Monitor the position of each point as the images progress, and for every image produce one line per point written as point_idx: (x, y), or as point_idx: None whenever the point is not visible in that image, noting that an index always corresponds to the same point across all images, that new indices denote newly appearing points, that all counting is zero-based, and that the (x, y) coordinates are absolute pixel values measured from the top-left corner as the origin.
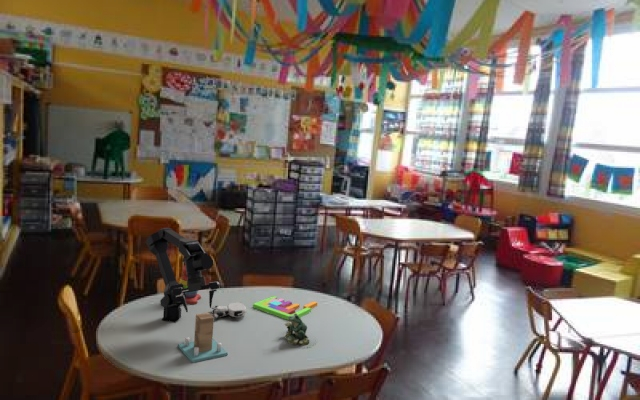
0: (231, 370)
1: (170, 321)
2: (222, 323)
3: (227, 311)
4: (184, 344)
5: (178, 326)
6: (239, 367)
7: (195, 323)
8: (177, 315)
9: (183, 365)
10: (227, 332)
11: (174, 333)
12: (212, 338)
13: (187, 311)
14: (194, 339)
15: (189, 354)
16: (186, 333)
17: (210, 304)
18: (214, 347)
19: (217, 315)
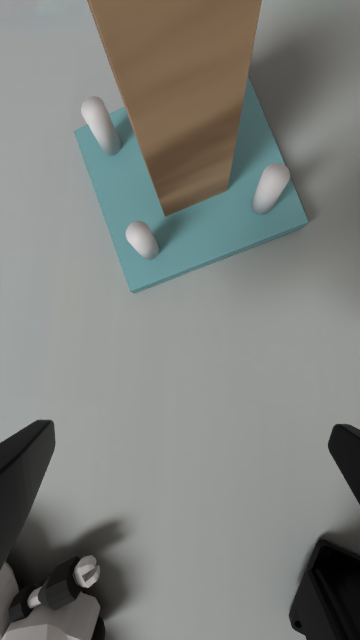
0: (79, 11)
1: (353, 553)
2: (69, 492)
3: (9, 611)
4: (274, 218)
5: (302, 479)
6: (46, 37)
7: (258, 4)
8: (330, 601)
9: (275, 42)
10: (57, 378)
11: (323, 388)
12: (130, 285)
13: (342, 427)
14: (231, 158)
15: (250, 107)
16: (258, 383)
17: (2, 453)
18: (128, 184)
19: (77, 568)
